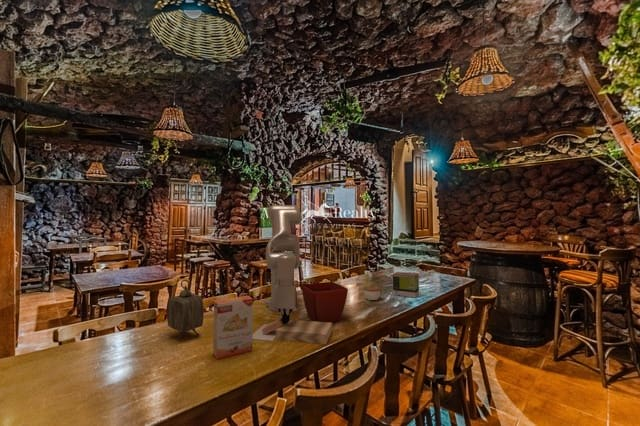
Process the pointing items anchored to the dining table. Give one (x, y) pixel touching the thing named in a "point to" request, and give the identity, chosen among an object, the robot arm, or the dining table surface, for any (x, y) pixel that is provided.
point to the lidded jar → (372, 292)
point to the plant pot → (324, 301)
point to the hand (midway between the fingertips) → (285, 322)
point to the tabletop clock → (185, 311)
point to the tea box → (406, 284)
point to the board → (305, 331)
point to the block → (272, 326)
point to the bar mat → (267, 337)
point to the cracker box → (233, 326)
